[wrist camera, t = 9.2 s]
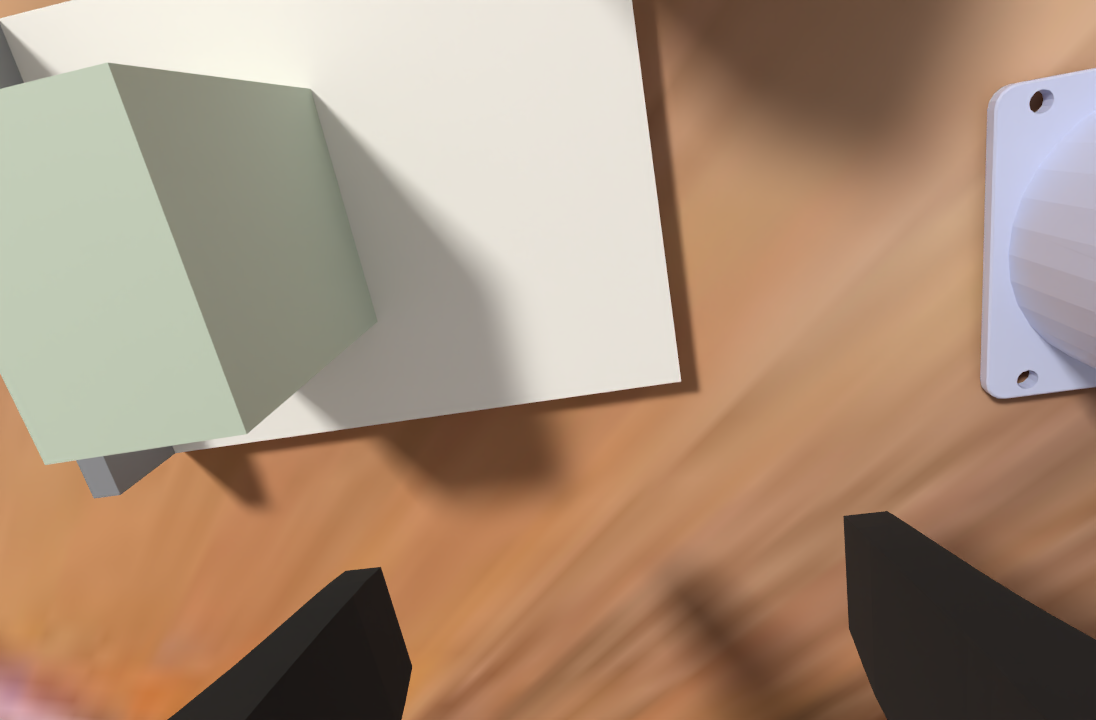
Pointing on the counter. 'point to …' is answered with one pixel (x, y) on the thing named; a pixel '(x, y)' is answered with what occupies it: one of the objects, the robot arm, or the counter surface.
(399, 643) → the robot arm
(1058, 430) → the counter surface
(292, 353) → the carton
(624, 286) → the shelf board
